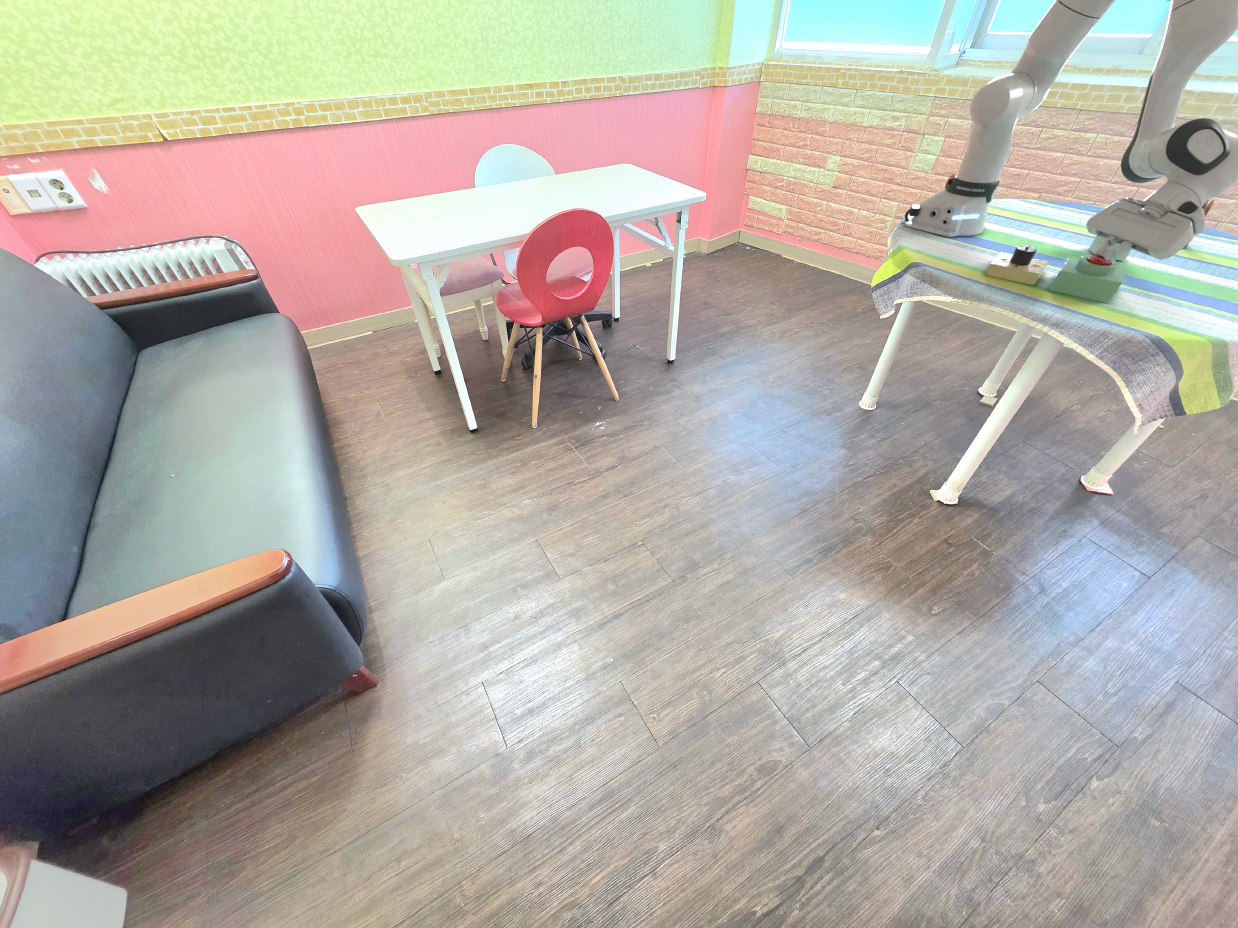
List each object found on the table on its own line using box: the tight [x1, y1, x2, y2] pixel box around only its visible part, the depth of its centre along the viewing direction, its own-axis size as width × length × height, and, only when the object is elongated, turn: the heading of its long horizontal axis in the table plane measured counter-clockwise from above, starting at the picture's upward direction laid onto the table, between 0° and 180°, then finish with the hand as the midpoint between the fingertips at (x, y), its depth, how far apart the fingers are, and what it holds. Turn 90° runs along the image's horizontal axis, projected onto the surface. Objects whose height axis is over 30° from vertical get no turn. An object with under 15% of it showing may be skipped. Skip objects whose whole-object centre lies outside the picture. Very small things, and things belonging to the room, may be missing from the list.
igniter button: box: [1087, 255, 1112, 266], centre depth 119 cm, size 4×4×2 cm
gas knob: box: [1010, 244, 1038, 265], centre depth 128 cm, size 4×4×4 cm
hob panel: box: [985, 251, 1049, 286], centre depth 130 cm, size 11×10×3 cm
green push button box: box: [1048, 255, 1129, 304], centre depth 121 cm, size 12×10×7 cm
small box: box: [1088, 235, 1133, 261], centre depth 133 cm, size 8×6×10 cm
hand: (1100, 257), depth 117 cm, fingers closed, pressing on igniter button
